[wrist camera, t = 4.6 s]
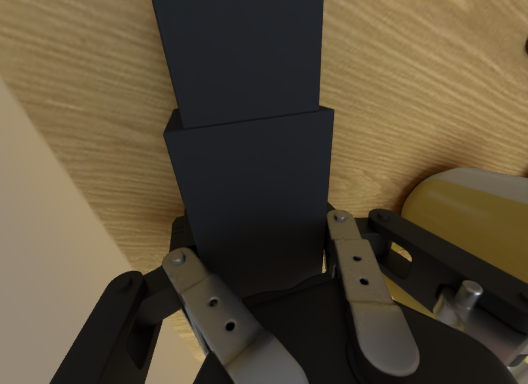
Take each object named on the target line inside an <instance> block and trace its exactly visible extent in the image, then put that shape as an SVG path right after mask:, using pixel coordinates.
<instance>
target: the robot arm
mask: <svg viewBox="0 0 528 384" xmlns="http://www.w3.org/2000/svg"><path fill="white" fill-rule="evenodd" d="M393 242H394V243H395V244H397V245H398V246H400V247H402V248H403V249H405V250H406V251H407V252H408V253H409V254H410V255H411V257H412V262H410V261H409V260H407V259H406V258H404V257H403V256H401V255H400V254H398V253H397V252H396V251H394V250H393V249H391V246H392V243H393ZM324 262H325V269H326V272H325V273H322V274H318V275H315V276H312V277H309V278H307V279H305V280H303V281H302V282H300V283H299V284H297V285H295V286H294V287H292V288H290V289H288V290H276V291H264V292H260V293H257V294H254V295H251V296H247V297H244V298H241V299H242V302H241V301H240V300H239V299H238V297H237V296H236V295H235V294H234V293H233V292H232V290H231V289H230V288H229V287H228V286H227V285H226V283H225V282H224V281H223V280H222V279H221V277H220V276H219V275H218V274H217V273H216V272H212V273H211V272H210V271H209V270H208V269H207V268H206V266H205V265H204V264H203V263H202V261H201V260H200V257H199V253H198V250H197V247H196V243H195V240H194V237H193V233H192V230H191V227H190V223H189V220H188V217H187V213H186V210H185V214H184V216H180V217H177V218H176V219H175V221H174V222H173V224H172V233H171V242H170V251H169V253H168V254H167V255H166V256H165V257H164V259H163V261H162V265H161V266H160V267H158V268H157V269H155V270H153V271H151V272H149V273H147V274H145V275H142V273H141V272H139V271H129V272H125V273H123V274H121V275H119V276H117V277H116V278H114V279H113V280H112V281H111V282H110V283H109V284H108V286H107V287H106V289H105V291H104V292H103V294H102V296H101V297H100V299H99V301H98V302H97V304H96V306H95V308H94V309H93V311H92V313H91V314H90V316H89V318H88V319H87V321H86V323H85V324H84V326H83V328H82V329H81V331H80V333H79V334H78V336H77V338H76V340H75V341H74V343H73V345H72V347H71V348H70V350H69V352H68V353H67V355H66V356H65V358H64V360H63V361H62V363H61V365H60V367H59V368H58V370H57V372H56V373H55V375H54V377H53V378H52V380H51V382H50V384H145V380H146V377H147V374H148V370H149V367H150V363H151V360H152V356H153V352H154V349H155V346H156V342H157V339H158V336H159V332H160V329H161V325H162V322H163V319H165V318H166V317H168V316H170V315H171V314H173V313H175V312H176V311H178V310H180V309H181V310H182V312H183V314H184V316H185V317H186V319H187V321H188V323H189V325H190V327H191V328H192V330H193V332H194V334H195V336H196V338H197V340H198V342H199V344H200V346H201V348H202V350H203V352H204V354H205V356H206V358H205V360H204V362H203V364H202V366H201V368H200V370H199V372H198V374H197V376H196V379H195V381H194V382H193V384H518V382H517V381H516V379H515V377H514V376H513V374H512V373H511V372H510V370H509V369H508V368H507V367H516V366H518V365H519V364H520V363H521V362H522V361H523V360H524V359H525V358H526V357H527V356H528V283H526V282H524V281H522V280H520V279H518V278H516V277H514V276H512V275H511V274H509V273H507V272H505V271H503V270H501V269H499V268H497V267H495V266H494V265H492V264H490V263H488V262H486V261H484V260H482V259H480V258H478V257H477V256H475V255H473V254H471V253H469V252H467V251H465V250H463V249H461V248H460V247H458V246H456V245H454V244H452V243H450V242H448V241H446V240H445V239H443V238H441V237H439V236H437V235H435V234H433V233H431V232H429V231H428V230H426V229H424V228H422V227H420V226H418V225H416V224H414V223H412V222H411V221H409V220H407V219H405V218H403V217H401V216H399V215H397V214H395V213H394V212H392V211H389V210H386V209H373V210H371V211H370V212H369V215H368V217H367V218H354V217H353V215H352V214H351V213H349V212H347V211H344V210H336V209H335V208H334V207H333V206H332V205H331V204H329V203H328V202H327V214H326V227H325V240H324ZM381 272H382V273H383V274H384V275H385V276H387V277H388V278H389V279H390V280H392V281H393V282H394V283H395V284H397V285H398V286H399V287H400V288H402V289H403V290H404V291H405V292H407V293H408V294H409V295H410V296H411V297H413V298H414V299H415V300H416V301H418V302H419V303H420V304H421V305H423V306H424V307H425V308H426V309H428V310H429V311H430V312H431V313H433V314H434V316H435V318H436V319H437V320H436V319H434V318H432V317H430V316H427V315H425V314H423V313H421V312H419V311H417V310H415V309H412V308H410V307H408V306H406V305H404V304H402V303H399V302H397V301H395V300H393V299H392V297H391V295H390V292H389V290H388V287H387V285H386V282H385V280H384V277H383V275H382V273H381Z"/></svg>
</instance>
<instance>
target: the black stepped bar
mask: <svg viewBox="0 0 528 384" xmlns="http://www.w3.org/2000/svg"><path fill="white" fill-rule="evenodd" d="M152 4H153V8H154V12H155V16H156V20H157V24H158V28H159V32H160V36H161V40H162V44H163V48H164V52H165V56H166V60H167V64H168V68H169V72H170V76H171V80H172V84H173V88H174V92H175V96H176V100H177V104H178V108H179V109H174V110H173V112H172V115H171V117H170V119H169V122H168V124H167V126H166V128H165V131H164V133H163V136H164V139H165V143H166V146H167V149H168V153H169V156H170V159H171V163H172V166H173V169H174V173H175V176H176V180H177V183H178V186H179V190H180V193H181V196H182V200H183V203H184V206H185V210H186V213H187V217H188V220H189V223H190V227H191V230H192V233H193V237H194V240H195V243H196V247H197V250H198V253H199V257H200V260H201V261H202V263H203V264H204V265H205V266H206V268H207V269H208V270H209V271H210V272H211V273H212V272H216V273H217V274H218V275H219V276H220V277H221V279H222V280H223V281H224V282H225V283H226V285H227V286H228V287H229V288H230V289H231V290H232V292H233V293H234V294H235V295H236V296H237V297H238V299H239V300H240V301H241V302H242V299H241V298H244V297H247V296H251V295H254V294H257V293H260V292H264V291H276V290H288V289H290V288H292V287H294V286H295V285H297V284H299V283H300V282H302V281H303V280H305V279H307V278H309V277H312V276H315V275H318V274H322V267H323V254H324V240H325V227H326V214H327V201H328V188H329V175H330V162H331V149H332V135H333V122H334V109H330V108H326V107H322V106H319V93H320V70H321V47H322V24H323V0H152Z"/></svg>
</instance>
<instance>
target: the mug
mask: <svg viewBox="0 0 528 384" xmlns="http://www.w3.org/2000/svg"><path fill="white" fill-rule="evenodd" d="M401 217H403V218H405V219H407V220H409V221H411V222H412V223H414V224H416V225H418V226H420V227H422V228H424V229H426V230H428V231H429V232H431V233H433V234H435V235H437V236H439V237H441V238H443V239H445V240H446V241H448V242H450V243H452V244H454V245H456V246H458V247H460V248H461V249H463V250H465V251H467V252H469V253H471V254H473V255H475V256H477V257H478V258H480V259H482V260H484V261H486V262H488V263H490V264H492V265H494V266H495V267H497V268H499V269H501V270H503V271H505V272H507V273H509V274H511V275H512V276H514V277H516V278H518V279H520V280H522V281H524V282H526V283H528V178H524V177H519V176H514V175H508V174H503V173H498V172H493V171H488V170H483V169H478V168H472V167H459V168H454V169H451V170H447V171H444V172H441V173H437V174H434V175H432V176H430V177H428V178H426V179H425V180H423V181H422V182H421V183H420V184H418V185H417V186H416V187H415V188H414V190H413V191H412V192H411V193H410V195H409V196H408V198H407V199H406V201H405V203H404V205H403V208H402V212H401ZM391 249H393V250H394V251H396V252H398V251H400V250H402V249H403V248H402V247H400V246H398V245H397V244H395V243H394V242H393V243H392V246H391ZM381 273H382V272H381ZM382 275H383V277H384V280H385V282H386V285H387V287H388V290H389V292H390V294H391V295H392V296H393V298H394V299H395V300H396V301H397V302H399V303H402V304H404V305H406V306H408V307H410V308H412V309H415V310H417V311H419V312H421V313H423V314H425V315H427V316H430V317H432V318H434V319H436V318H435V316H434V314H433V313H431V312H430V311H429V310H428V309H426V308H425V307H424V306H423V305H421V304H420V303H419V302H418V301H416V300H415V299H414V298H413V297H411V296H410V295H409V294H408V293H407V292H405V291H404V290H403V289H402V288H400V287H399V286H398V285H397V284H395V283H394V282H393V281H392V280H390V279H389V278H388V277H387V276H385V275H384V274H383V273H382ZM436 320H437V319H436ZM523 361H524V362H526V363H528V356H527V357H526V358H525V359H524V360H523Z"/></svg>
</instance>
